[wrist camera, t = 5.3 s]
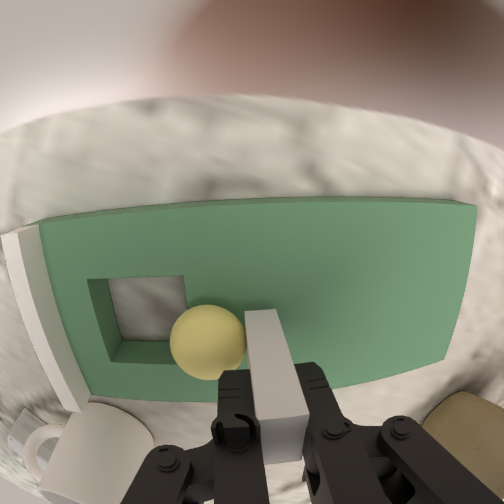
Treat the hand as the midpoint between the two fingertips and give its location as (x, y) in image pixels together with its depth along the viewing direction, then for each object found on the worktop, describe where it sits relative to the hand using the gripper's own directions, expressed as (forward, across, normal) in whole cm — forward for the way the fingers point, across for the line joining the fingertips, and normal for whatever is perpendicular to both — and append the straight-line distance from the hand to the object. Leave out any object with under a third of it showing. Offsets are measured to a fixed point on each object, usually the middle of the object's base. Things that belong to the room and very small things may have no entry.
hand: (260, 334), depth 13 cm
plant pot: (+4, +23, -19) cm, 30 cm away
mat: (+4, +1, 0) cm, 4 cm away
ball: (0, -2, 0) cm, 3 cm away
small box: (+4, -25, -17) cm, 31 cm away
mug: (+4, -15, -13) cm, 20 cm away
